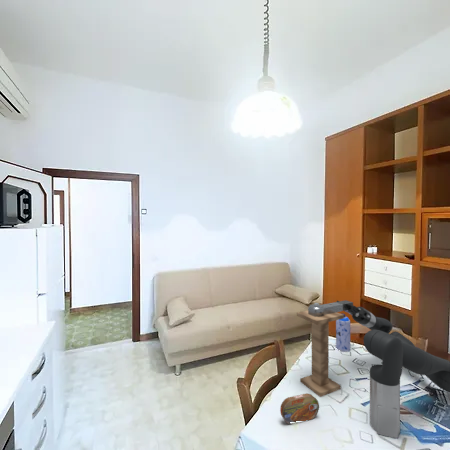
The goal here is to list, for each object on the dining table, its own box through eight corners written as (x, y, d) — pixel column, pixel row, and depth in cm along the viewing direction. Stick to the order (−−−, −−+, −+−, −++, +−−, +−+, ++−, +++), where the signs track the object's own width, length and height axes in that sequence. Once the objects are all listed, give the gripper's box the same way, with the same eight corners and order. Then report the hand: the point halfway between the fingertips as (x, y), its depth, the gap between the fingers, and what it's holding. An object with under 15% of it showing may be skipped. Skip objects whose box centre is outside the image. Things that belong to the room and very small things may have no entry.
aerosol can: (332, 346, 158) (332, 312, 158) (345, 345, 159) (345, 311, 159) (340, 352, 150) (340, 316, 150) (353, 351, 152) (353, 315, 152)
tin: (283, 426, 96) (283, 403, 96) (279, 420, 99) (279, 397, 99) (319, 418, 100) (319, 395, 100) (314, 412, 103) (314, 390, 103)
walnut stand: (322, 374, 129) (322, 307, 129) (343, 387, 118) (343, 315, 118) (296, 383, 122) (296, 312, 122) (316, 398, 111) (316, 321, 111)
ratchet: (344, 305, 131) (344, 295, 131) (354, 309, 126) (354, 298, 126) (306, 313, 120) (306, 302, 120) (316, 317, 115) (316, 306, 115)
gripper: (375, 329, 126) (354, 317, 120) (348, 319, 139) (329, 308, 133) (380, 314, 128) (360, 301, 122) (353, 306, 141) (334, 293, 134)
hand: (344, 304), depth 127 cm, fingers open, 8 cm apart
